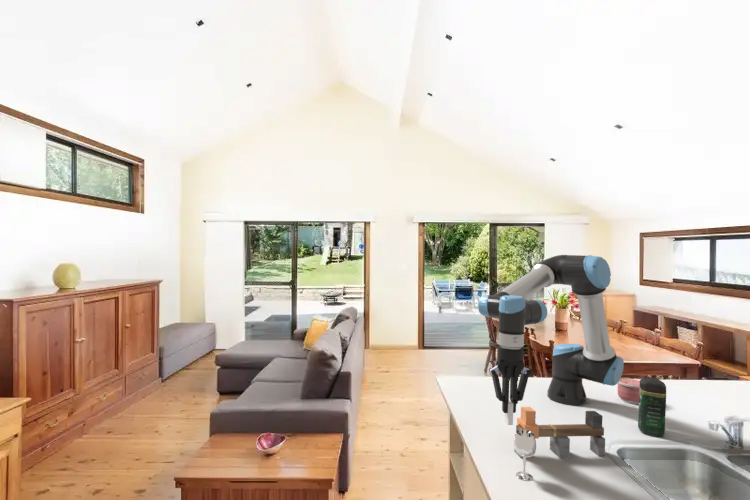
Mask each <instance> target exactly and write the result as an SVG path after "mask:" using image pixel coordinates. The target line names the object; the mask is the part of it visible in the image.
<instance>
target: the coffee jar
mask: <svg viewBox="0 0 750 500" xmlns="http://www.w3.org/2000/svg"><path fill="white" fill-rule="evenodd" d="M639 381H640V388H639V404H638V417H637V427H638V429H639V431H640V432H641V433H644V434H646V435H648V436H652V437H664V436H665V431H666V412H667V411H666V410H667V385H666V384H665V382H664V381H662V380H660V379H659V378H656V377H650V376H645V377H642V378H640V379H639Z"/></svg>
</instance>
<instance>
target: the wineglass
mask: <svg viewBox="0 0 750 500" xmlns="http://www.w3.org/2000/svg"><path fill="white" fill-rule="evenodd" d="M515 434H516V436H515V435H514V440H513V442H514V443H513V447H514V451H515V450H516V452H517V453H518V454H519V455H520V456H523V458H522V463H523V471H517V472H516V473H515V477H516V478H517V479H519V480H522V481H526V482H527V481H532V480H533V477H534V476H533V475H532V474H530V473H529V472H526V463H527V458H531V457H533V456H534V455H535V454H536V451H537V441H536V439H535V436H534V433H532V432H531V431H528V430H518V431H517V432H516V431H515ZM516 452H515V453H516ZM517 453H516V454H517ZM518 454H517V455H518ZM526 457H527V458H526Z"/></svg>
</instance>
